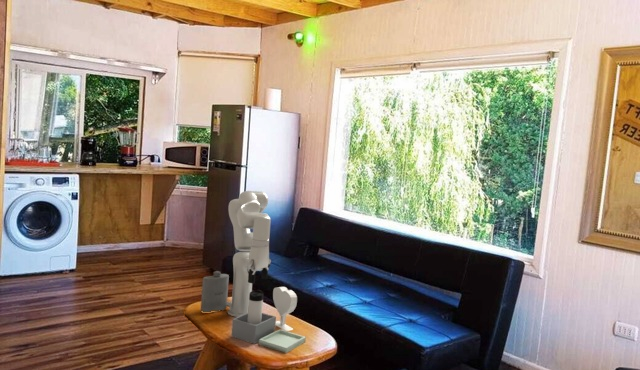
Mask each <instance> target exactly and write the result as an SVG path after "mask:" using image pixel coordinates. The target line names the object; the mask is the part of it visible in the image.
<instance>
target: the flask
mask: <svg viewBox="0 0 640 370" xmlns="http://www.w3.org/2000/svg"><path fill="white" fill-rule="evenodd" d="M229 275H230V274H227V273H221V271H219V270H216V271H213V275H212V276H211V275H209V276H204V277H202V284H201V285H202V286H201V300H200V312H201V311H203V312H211V311H219V310H222V311H224V309H225V310H226V309H227V307H228V306H226V304H227V302H228V294H229V293H228V292H229V282H230V280H229V278H230V276H229ZM219 312H220V311H219Z"/></svg>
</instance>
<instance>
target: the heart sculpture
mask: <svg viewBox="0 0 640 370" xmlns="http://www.w3.org/2000/svg"><path fill="white" fill-rule="evenodd" d="M272 290H273V291H272V300H273V305H274V307H275V309H276V310H277V313H278V314H279V316H280V320H276V323H275V327H278V328H280V329H281V330H284V331H287V332H291V331H293V330H294V328H293V327H291V326H290V325H288V324H286V318H287V315H288V314H291V313H292V312H294V310H295V309H296V307H297V303H298V296H297V294H296V293H295V291H293V290H292V289H288V288H287V287H286V286H279V287H274V288H273V289H272Z"/></svg>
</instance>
